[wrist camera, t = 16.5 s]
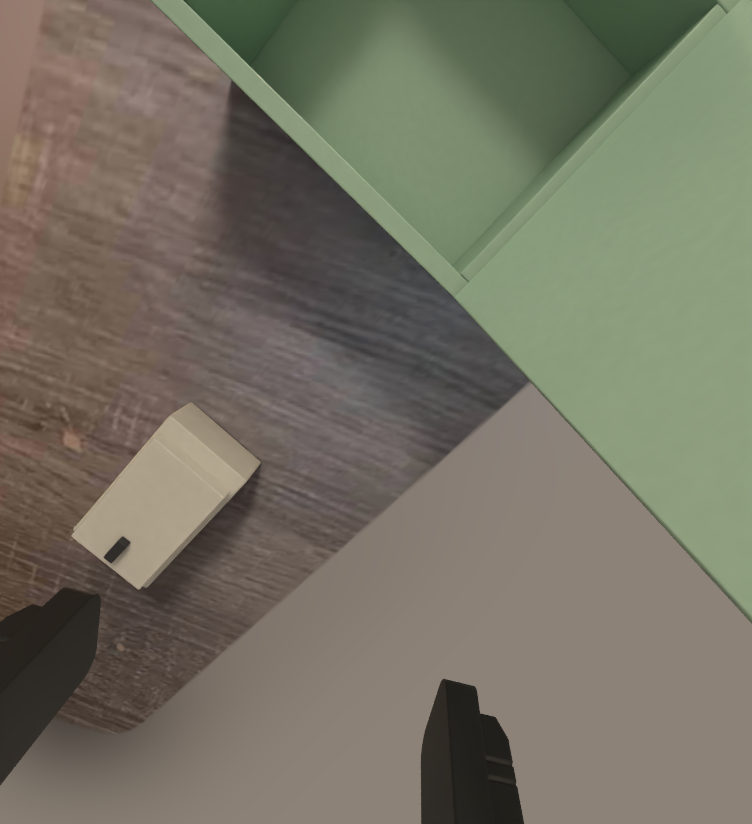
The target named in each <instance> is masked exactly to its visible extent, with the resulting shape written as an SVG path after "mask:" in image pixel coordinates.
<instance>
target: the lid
mask: <svg viewBox="0 0 752 824" xmlns="http://www.w3.org/2000/svg"><path fill="white" fill-rule="evenodd" d="M455 300H456V301H457V302H458V303H459V304H460V305H461V306H462V308H463V309H464V310H465V311H466V312H467V313H468V314H469V315H470V316H471V317H472V318H473V320H474V321H475V322H476V323H477V324H478V325H479V326H480V327H481V328H482V329H483V330H484V332H485V333H486V334H487V335H488V336H489V337H490V338H491V339H492V340H493V341H494V343H495V344H496V345H497V346H498V347H499V348H500V349H501V350H502V351H503V352H504V353H505V355H506V356H507V357H508V358H509V359H510V360H511V361H512V362H513V363H514V364H515V365H516V367H517V368H518V369H519V370H520V371H521V372H522V373H523V374H524V375H525V376H526V377H527V379H528V380H529V381H530V382H531V383H532V384H533V385H534V386H535V387H536V388H537V389H538V391H539V392H540V393H541V394H542V395H543V396H544V397H545V398H546V399H547V400H548V401H549V402H550V403H551V405H552V406H553V407H554V408H555V409H556V410H557V411H558V412H559V414H560V415H561V416H562V417H563V418H564V419H565V420H566V421H567V422H568V423H569V424H570V425H571V427H573V429H574V430H575V431H576V432H577V433H578V434H579V435H580V436H581V437H582V439H584V441H585V442H586V443H587V444H588V445H589V446H590V447H591V448H592V450H593V451H594V452H595V453H596V454H597V455H598V456H599V457H600V458H601V459H602V460H603V462H604V463H605V464H606V465H607V466H608V467H609V468H610V469H611V470H612V471H613V472H614V474H615V475H616V476H617V477H618V478H619V479H620V480H621V481H622V482H623V483H624V484H625V486H626V487H627V488H628V489H629V490H630V491H631V492H632V493H633V494H634V495H635V497H636V498H637V499H638V500H639V501H640V502H641V503H642V504H643V505H644V506H645V507H646V508H647V510H648V511H649V512H650V513H651V514H652V515H653V516H654V517H655V518H656V519H657V520H658V522H659V523H660V524H661V525H662V526H663V527H664V528H665V529H666V530H667V531H668V532H669V534H670V535H671V536H672V537H673V538H674V539H675V540H676V541H677V542H678V543H679V545H680V546H681V547H682V548H683V549H684V550H685V551H686V552H687V553H688V554H689V555H690V556H691V558H692V559H693V560H694V561H695V562H696V563H697V564H698V565H699V566H700V567H701V569H703V571H704V572H705V573H706V574H707V575H708V576H709V577H710V578H711V580H712V581H713V582H714V583H715V584H716V585H717V586H718V587H719V588H720V589H721V590H722V591H723V593H724V594H725V595H726V596H727V597H728V598H729V599H730V600H731V601H732V602H733V603H734V605H735V606H736V607H737V608H738V609H739V610H740V611H741V612H742V613H743V614H744V616H745V617H746V618H747V619H748V620H749V621H750V622H751V623H752V0H740V1H739V2H738V3H737V4H736V5H735V6H734V7H733V8H732V9H731V10H730V12H729V13H728V14H727V15H726V16H725V17H724V18H723V19H722V20H721V21H720V22H719V23H718V24H717V25H716V26H715V27H714V28H713V29H712V30H711V31H710V32H709V33H708V34H707V35H706V36H705V38H704V39H703V40H702V41H701V42H700V43H699V44H698V45H697V46H696V47H695V48H694V49H693V50H692V51H691V52H690V53H689V54H688V55H687V56H686V57H685V58H684V59H683V60H682V61H681V62H680V63H679V65H678V66H677V67H676V68H675V69H674V70H673V71H672V72H671V73H670V74H669V75H668V76H667V77H666V78H665V79H664V80H663V81H662V82H661V83H660V84H659V85H658V86H657V87H656V88H655V89H654V90H653V92H652V93H651V94H650V95H649V96H648V97H647V98H646V99H645V100H644V101H643V102H642V103H641V104H640V105H639V106H638V107H637V108H636V109H635V110H634V111H633V112H632V113H631V114H630V115H629V116H628V117H627V119H626V120H625V121H624V122H623V123H622V124H621V125H620V126H619V127H618V128H617V129H616V130H615V131H614V132H613V133H612V134H611V135H610V136H609V137H608V138H607V139H606V140H605V141H604V142H603V143H602V145H601V146H600V147H599V148H598V149H597V150H596V151H595V152H594V153H593V154H592V155H591V156H590V157H589V158H588V159H587V160H586V161H585V162H584V163H583V164H582V165H581V166H580V167H579V168H578V169H577V170H576V172H575V173H574V174H573V175H572V176H571V177H570V178H569V179H568V180H567V181H566V182H565V183H564V184H563V185H562V186H561V187H560V188H559V189H558V190H557V191H556V192H555V193H554V194H553V195H552V196H551V197H550V199H549V200H548V201H547V202H546V203H545V204H544V205H543V206H542V207H541V208H540V209H539V210H538V211H537V212H536V213H535V214H534V215H533V216H532V217H531V218H530V219H529V220H528V221H527V222H526V223H525V224H524V226H523V227H522V228H521V229H520V230H519V231H518V232H517V233H516V234H515V235H514V236H513V237H512V238H511V239H510V240H509V241H508V242H507V243H506V244H505V245H504V246H503V247H502V248H501V249H500V250H499V252H498V253H497V254H496V255H495V256H494V257H493V258H492V259H491V260H490V261H489V262H488V263H487V264H486V265H485V266H484V267H483V268H482V269H481V270H480V271H479V272H478V273H477V274H476V275H475V276H474V277H473V279H472V280H471V281H470V282H469V283H468V284H467V285H466V286H465V287H464V288H463V289H462V290H461V291H460V292H459V293H458V294H457V295H456V296H455Z"/></svg>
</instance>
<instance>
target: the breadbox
mask: <svg viewBox="0 0 752 824" xmlns="http://www.w3.org/2000/svg"><path fill="white" fill-rule="evenodd" d="M739 1H740V0H151V2H152V3H153V4H154V5H156V6H157V7H158V8H159V9H160V10H161V11H162V12H163V13H164V14H165V15H166V16H167V17H168V18H169V19H170V20H171V21H172V22H173V23H174V24H175V25H176V26H177V27H178V28H179V29H180V30H181V31H182V32H183V33H184V34H185V35H186V36H187V37H188V38H189V39H190V40H191V41H192V42H193V43H194V44H195V45H196V46H197V47H198V48H199V49H200V50H201V51H202V52H203V53H204V54H206V55H207V56H208V57H209V58H210V59H211V60H212V61H213V62H214V63H215V64H216V65H217V66H218V67H219V68H220V69H221V70H222V71H223V72H224V73H225V74H226V75H227V76H228V77H229V78H230V79H231V80H232V81H233V82H234V83H235V84H236V85H237V86H238V87H239V88H240V89H241V90H242V91H243V92H244V93H245V94H246V95H247V96H248V97H249V98H250V99H251V100H252V101H253V102H255V103H256V104H257V105H258V106H259V107H260V108H261V109H262V110H263V111H264V112H265V113H266V114H267V115H268V116H269V117H270V118H271V119H272V120H273V121H274V122H275V123H276V124H277V125H278V126H279V127H280V128H281V129H282V130H283V131H284V132H285V133H286V134H287V135H288V136H289V137H290V138H291V139H292V140H293V141H294V142H295V143H296V144H297V145H298V146H299V147H300V148H301V149H302V150H303V151H305V152H306V153H307V154H308V155H309V156H310V157H311V158H312V159H313V160H314V161H315V162H316V163H317V164H318V165H319V166H320V167H321V168H322V169H323V170H324V171H325V172H326V173H327V174H328V175H329V176H330V177H331V178H332V179H333V180H334V181H335V182H336V183H337V184H338V185H339V186H340V187H341V188H342V189H343V190H344V191H345V192H346V193H347V194H348V195H349V196H350V197H351V198H352V199H353V200H355V201H356V202H357V203H358V204H359V205H360V206H361V207H362V208H363V209H364V210H365V211H366V212H367V213H368V214H369V215H370V216H371V217H372V218H373V219H374V220H375V221H376V222H377V223H378V224H379V225H380V226H381V227H382V228H383V229H384V230H385V231H386V232H387V233H388V234H389V235H390V236H391V237H392V238H393V239H394V240H395V241H396V242H397V243H398V244H399V245H400V246H401V247H402V248H403V249H405V250H406V251H407V252H408V253H409V254H410V255H411V256H412V257H413V258H414V259H415V260H416V261H417V262H418V263H419V264H420V265H421V266H422V267H423V268H424V269H425V270H426V271H427V272H428V273H429V274H430V275H431V276H432V277H433V278H434V279H435V280H436V281H437V282H438V283H439V284H440V285H441V286H442V287H443V288H444V289H445V290H446V291H447V292H448V293H449V294H450V295H451V296H452V297H454V298H455V296H456V295H457V294H458V293H459V292H460V291H461V290H462V289H463V288H464V287H465V286H466V285H467V284H468V283H469V282H470V281H471V280H472V279H473V277H474V276H475V275H476V274H477V273H478V272H479V271H480V270H481V269H482V268H483V267H484V266H485V265H486V264H487V263H488V262H489V261H490V260H491V259H492V258H493V257H494V256H495V255H496V254H497V253H498V252H499V250H500V249H501V248H502V247H503V246H504V245H505V244H506V243H507V242H508V241H509V240H510V239H511V238H512V237H513V236H514V235H515V234H516V233H517V232H518V231H519V230H520V229H521V228H522V227H523V226H524V224H525V223H526V222H527V221H528V220H529V219H530V218H531V217H532V216H533V215H534V214H535V213H536V212H537V211H538V210H539V209H540V208H541V207H542V206H543V205H544V204H545V203H546V202H547V201H548V200H549V199H550V197H551V196H552V195H553V194H554V193H555V192H556V191H557V190H558V189H559V188H560V187H561V186H562V185H563V184H564V183H565V182H566V181H567V180H568V179H569V178H570V177H571V176H572V175H573V174H574V173H575V172H576V170H577V169H578V168H579V167H580V166H581V165H582V164H583V163H584V162H585V161H586V160H587V159H588V158H589V157H590V156H591V155H592V154H593V153H594V152H595V151H596V150H597V149H598V148H599V147H600V146H601V145H602V143H603V142H604V141H605V140H606V139H607V138H608V137H609V136H610V135H611V134H612V133H613V132H614V131H615V130H616V129H617V128H618V127H619V126H620V125H621V124H622V123H623V122H624V121H625V120H626V119H627V117H628V116H629V115H630V114H631V113H632V112H633V111H634V110H635V109H636V108H637V107H638V106H639V105H640V104H641V103H642V102H643V101H644V100H645V99H646V98H647V97H648V96H649V95H650V94H651V93H652V92H653V90H654V89H655V88H656V87H657V86H658V85H659V84H660V83H661V82H662V81H663V80H664V79H665V78H666V77H667V76H668V75H669V74H670V73H671V72H672V71H673V70H674V69H675V68H676V67H677V66H678V65H679V63H680V62H681V61H682V60H683V59H684V58H685V57H686V56H687V55H688V54H689V53H690V52H691V51H692V50H693V49H694V48H695V47H696V46H697V45H698V44H699V43H700V42H701V41H702V40H703V39H704V38H705V36H706V35H707V34H708V33H709V32H710V31H711V30H712V29H713V28H714V27H715V26H716V25H717V24H718V23H719V22H720V21H721V20H722V19H723V18H724V17H725V16H726V15H727V14H728V13H729V12H730V10H731V9H732V8H733V7H734V6H735V5H736V4H737V3H738V2H739Z"/></svg>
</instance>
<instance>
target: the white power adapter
mask: <svg viewBox="0 0 752 824" xmlns="http://www.w3.org/2000/svg"><path fill="white" fill-rule="evenodd" d="M260 464H261V462H260V461H259V460H258V459H257V458H256V457H254V456H253V455H252V454H251V453H250V452H249V451H247V450H246V449H245V448H244V447H243V446H242V445H241V444H239V443H238V442H237V441H236V440H235V439H234V438H232V437H231V436H230V435H229V434H228V433H227V432H226V431H224V430H223V429H222V428H221V427H220V426H219V425H218V424H216V423H215V422H214V421H213V420H212V419H211V418H209V417H208V416H207V415H206V414H205V413H204V412H203V411H201V410H200V409H199V408H198V407H197V406H196V405H194V404H193V403H192V402H190V403H188V404H187V405H185V406H184V407H182V408H181V409H179V410H177V411H176V412H174V413H173V414H171V415H170V416H169V417H168V418H167V419H166V420H165V421H164V423H163V424H162V425H161V426H160V427H159V428H158V430H157V431H156V432H155V433H154V434H153V436H152V437H151V438H150V439H149V440H148V441H147V443H146V444H145V445H144V446H143V447H142V449H141V450H140V451H139V452H138V453H137V454H136V456H135V457H134V458H133V459H132V460H131V462H130V463H129V464H128V465H127V466H126V467H125V469H124V470H123V471H122V472H121V473H120V475H119V476H118V477H117V478H116V479H115V480H114V482H113V483H112V484H111V485H110V486H109V488H108V489H107V490H106V491H105V492H104V493H103V495H102V496H101V497H100V498H99V499H98V501H97V502H96V503H95V504H94V505H93V506H92V508H91V509H90V510H89V511H88V512H87V514H86V515H85V516H84V517H83V518H82V519H81V521H80V522H79V523H78V524H77V525H76V527H75V528H74V529H73V530H74V531H75V532H74V533H73V534H72V537H73V538H74V539H75V540H76V541H78V542H79V543H80V544H81V545H83V546H84V547H85V548H86V549H88V550H89V551H90V552H91V553H93V554H94V555H95V556H96V557H98V558H99V559H100V560H101V561H103V562H104V563H105V564H107V565H108V566H109V567H110V568H112V569H113V570H114V571H115V572H117V573H118V574H119V575H120V576H122V577H123V578H124V579H125V580H127V581H128V582H129V583H130V584H132V585H133V586H134V587H135V588H137V589H138V590H139V589H140V588H141V587H142V586H144V587H145V588H147V587H148V586H149V585H150V584H151V583H152V582H153V581H154V580H155V579H156V578H157V577H158V575H159V574H160V573H161V572H162V571H163V570H164V569H165V568H166V567H167V566H168V565H169V564H170V563H171V562H172V561H173V560H174V558H175V557H176V556H177V555H178V554H179V553H180V552H181V551H182V550H183V549H184V548H185V547H186V546H187V545H188V544H189V543H190V541H191V540H192V539H193V538H194V537H195V536H196V535H197V534H198V533H199V532H200V531H201V530H202V529H203V528H204V527H205V526H206V524H207V523H208V522H209V521H210V520H211V519H212V518H213V517H214V516H215V515H216V514H217V513H218V512H219V511H220V510H221V509H222V507H223V506H224V505H225V504H226V503H227V502H228V501H229V500H230V499H231V498H232V497H233V496H234V495H235V494H236V493H237V492H238V490H239V489H240V488H241V487H242V486H243V485H244V484H245V483H246V482H247V481H248V479H249V478H250V477H251V475H252V474H253V473H254V472H255V470H256V469H257V468H258V466H259V465H260Z"/></svg>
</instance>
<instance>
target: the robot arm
mask: <svg viewBox="0 0 752 824" xmlns="http://www.w3.org/2000/svg"><path fill="white" fill-rule="evenodd" d="M100 605H101V599H100V596H99V595H98V594H93V593H89V592H85V591H81V590H77V589H73V588H68V587H65V588H63V589H61V590H60V591H59V592H58V593H57V594H56V595H54V596H53V597H52V598H51V599H50V600H49V601H48V602H47V603H46V604H45V605H44V606H43V607H41V606H37V605H33V604H32V605H30V606H28V607H26V608H24V609H22V610H20V611H18V612H16V613H14V614H12V615H10V616H8V617H6V618H5V619H4V620H3V621H2V622H0V785H1V784H2V782H3V781H4V780H5V779H6V777H7V776H8V775H9V774H10V772H11V771H12V770H13V768H14V767H15V766H16V764H17V763H18V762H19V761H20V760H21V758H22V757H23V756H24V754H25V753H26V752H27V751H28V749H29V748H30V747H31V746H32V744H33V743H34V742H35V740H36V739H37V738H38V737H39V735H40V734H41V733H42V731H43V730H44V729H45V727H46V726H47V725H48V724H49V723H50V721H51V720H52V719H53V717H54V716H55V715H56V714H57V712H58V711H59V710H60V708H61V707H62V706H63V705H64V703H65V702H66V701H67V700H68V698H69V697H70V696H71V694H72V693H73V692H74V691H75V689H76V688H77V687H78V686H79V684H80V683H81V682H82V680H83V679H84V678H85V676H86V675H87V673H88V671H89V669H90V667H91V665H92V663H93V660H94V657H95V654H96V649H97V638H98V627H99V616H100ZM512 763H513V762H512V756H511V751H510V746H509V740H508V738H507V736H506V734H505V733H504V731H503V729H502V728H501V726H500V724H499V723H498V721H497V719H496V717H493V716H489V715H484V714H480V711H479V703H478V696H477V690H476V688H475V686H471V685H467V684H462V683H459V682H455V681H450V680H446V679H443V680H442V681H441V683H440V686H439V689H438V692H437V695H436V698H435V701H434V705H433V708H432V711H431V714H430V717H429V720H428V724H427V726H426V730H425V734H424V739H423V744H422V753H421V824H524V821H523V815H522V810H521V805H520V800H519V794H518V789H517V786H516V778H515V773H514V768H513V767H512Z"/></svg>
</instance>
